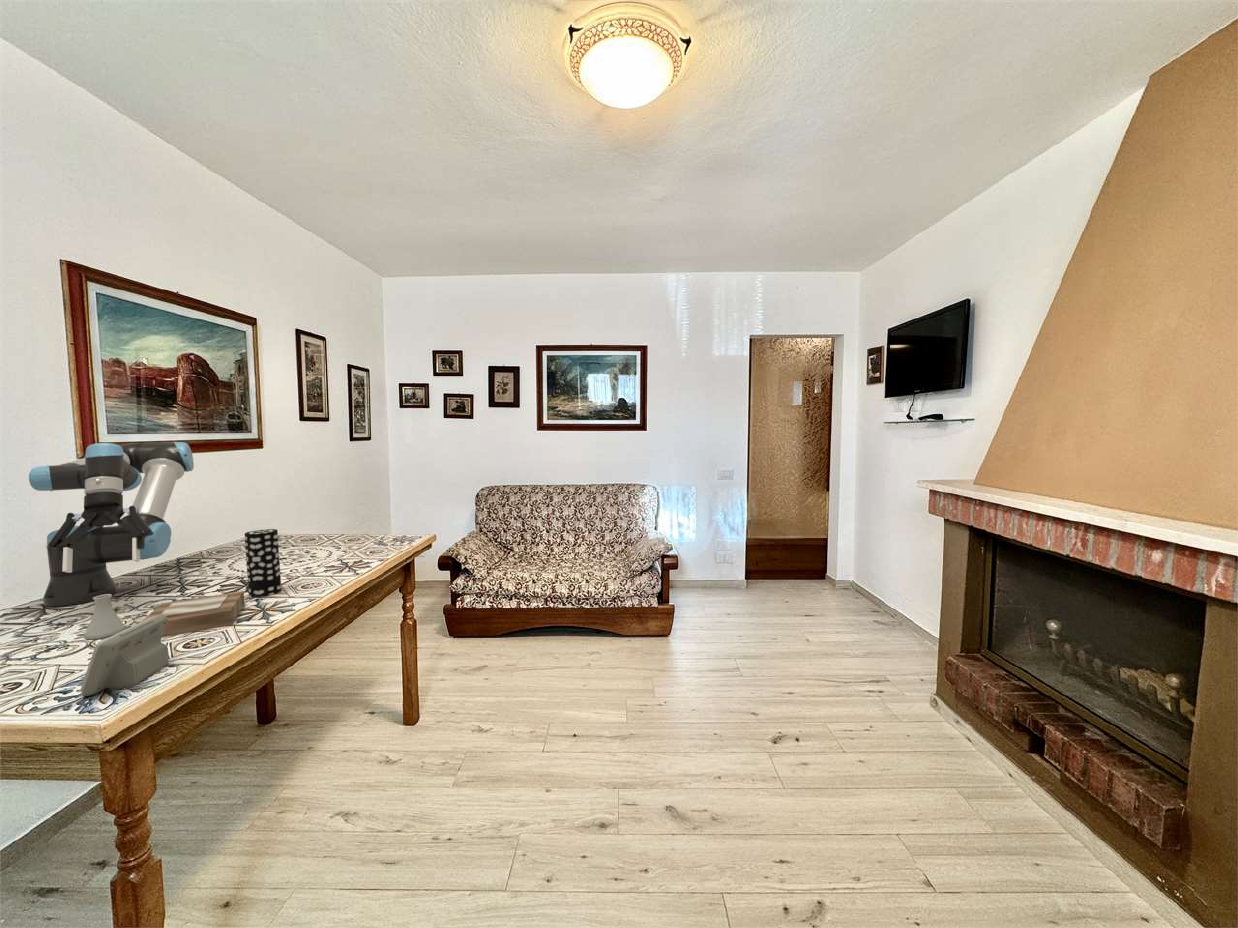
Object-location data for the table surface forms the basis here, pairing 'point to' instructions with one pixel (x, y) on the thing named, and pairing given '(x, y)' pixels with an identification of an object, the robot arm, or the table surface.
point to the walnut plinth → (200, 613)
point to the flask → (103, 619)
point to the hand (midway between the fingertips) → (102, 566)
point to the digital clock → (127, 657)
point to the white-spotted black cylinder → (263, 562)
